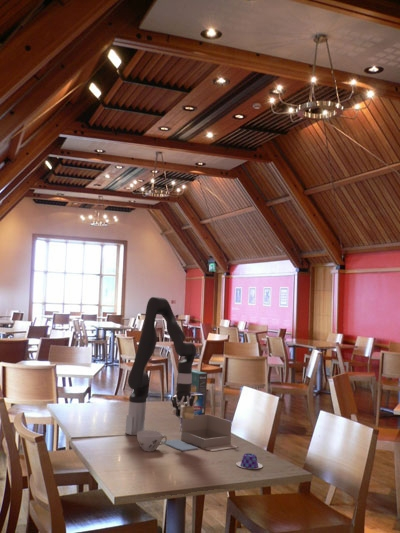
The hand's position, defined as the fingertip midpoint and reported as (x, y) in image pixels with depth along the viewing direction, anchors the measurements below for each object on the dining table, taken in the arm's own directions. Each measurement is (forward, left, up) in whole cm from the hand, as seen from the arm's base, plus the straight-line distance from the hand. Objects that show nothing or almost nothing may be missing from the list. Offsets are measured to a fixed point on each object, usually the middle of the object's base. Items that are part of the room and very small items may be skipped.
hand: (182, 415), depth 283 cm
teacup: (-17, +1, -15) cm, 23 cm away
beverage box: (+21, +20, -15) cm, 33 cm away
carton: (+17, -2, -15) cm, 23 cm away
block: (0, +1, 0) cm, 1 cm away
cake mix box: (+43, +49, -15) cm, 67 cm away
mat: (0, +1, -15) cm, 15 cm away
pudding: (+9, -41, -16) cm, 45 cm away
